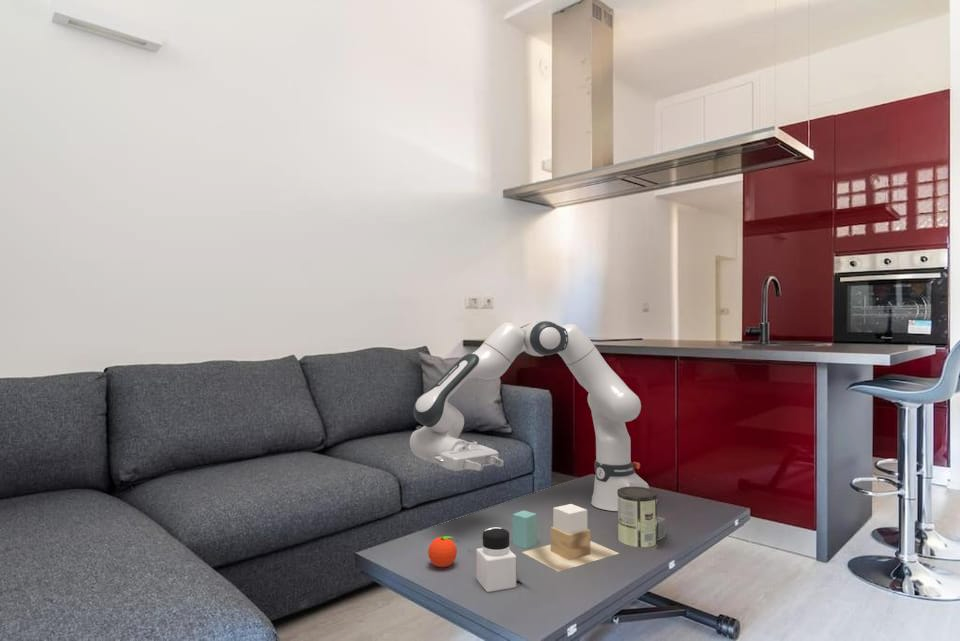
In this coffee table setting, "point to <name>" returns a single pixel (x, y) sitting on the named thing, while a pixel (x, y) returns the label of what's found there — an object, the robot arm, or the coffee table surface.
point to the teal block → (524, 529)
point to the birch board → (561, 563)
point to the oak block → (570, 544)
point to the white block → (570, 519)
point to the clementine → (442, 551)
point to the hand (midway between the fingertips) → (491, 465)
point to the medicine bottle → (496, 561)
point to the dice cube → (661, 527)
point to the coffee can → (637, 516)
